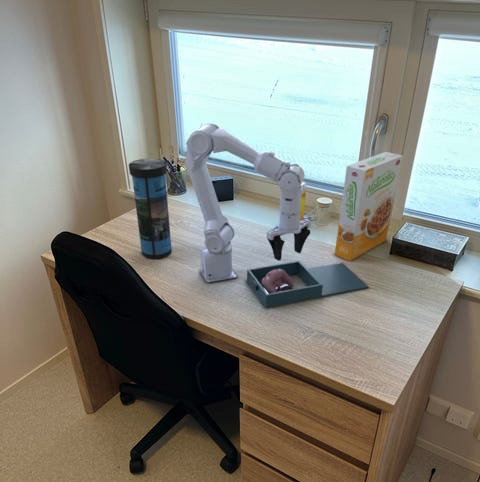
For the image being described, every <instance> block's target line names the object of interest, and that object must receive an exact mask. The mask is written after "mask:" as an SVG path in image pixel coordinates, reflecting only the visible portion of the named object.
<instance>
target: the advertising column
mask: <svg viewBox="0 0 480 482" xmlns="http://www.w3.org/2000/svg"><path fill="white" fill-rule="evenodd" d="M167 166H168V165H167V162H166V161H165V160H163V159H160V158H139V159H135V160H133V161H130V162H129V164H128V171H129V175H130V176H131V179H132V186H133V194H134V195H133V196H134V203H135V209H136V210H135V211H136V218H137V226H138V233H139V243H140V251H141V256H142V257H144V258H145V259H149V260H161V259H165V258H167V257H169V256H170V255H171V254H172V249H173V248H172V239H171V238H172V237H171V227H170V226H171V225H170V214H169V202H168V188H167V179H166V174H167V172H168V168H167Z"/></svg>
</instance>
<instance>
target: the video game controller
mask: <svg viewBox="0 0 480 482" xmlns="http://www.w3.org/2000/svg"><path fill="white" fill-rule="evenodd" d="M261 281H262V286H263V287H264V288H265V290H266V291H267V292H268V294H270V293H275V292H276V291H275V290H276V287H281V286H282V281H284V282H285V283H286V284H287V285H288V286H290V287H291V288H292V287H294V281H293V279H292V277H290V275H288V274H287V273H286V272H285V271H284V270H283V269H275V270H272V271H270V272H269V273H268V274H267V275H266V276H265V277H264V278H263V279H262V280H261ZM273 282H275V284H274V283H273Z"/></svg>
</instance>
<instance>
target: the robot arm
mask: <svg viewBox="0 0 480 482" xmlns="http://www.w3.org/2000/svg"><path fill="white" fill-rule="evenodd" d="M185 145H186V153H185V160H184V163H185V166H186V169H187V173H188V175H189V178H190V181H191V183H192V186H193V190H194V193H195V196H196V198H197V201H198V204H199V208H200V211H201V213H202V216H203V220H204V228H203V234H204V246H205V249H203V250H201V251H200V255H199V256H200V257H199V259H200V273H201V275H202V277H203V278H204V279H205V282H206V283H213V282H219V281H224V280H230V279H236V278H237V274H236V273H235V272H234V270H233V246H232V240H233V239H234V237H235V229H234V228H233V225H231V224H230V222H229V220H228V218H227V217H226V216H224V215H223V213H222V212H223V211H222V210H221V206H220V203H219V200H218V197H217V193H216V191H215V187H214V185H213V181H212V178H211V175H210V171H209V169H208V165H207V161H208V160H209V158H210V156H211V154H212V153H213V154H219V153H223V152H227V153H230V154H232V155H234V156H235V157H238V158H240V159H241V160H243V161H246V162H248V163H250V164H252V165H253V167H254V171H255V172H257V173H258V174H260V175H262V176H264V177H265V178H267V179H269V180H271V181H273V182H274V183H277V184H278V187H279V189H280V195H279V216H278V217H279V218H278V224H277V225H276V226H275V227H273V228H271V229H269V230H267V231H266V239H267V241H268V242H269V245H270V247H271V250H272V254H273V258H274V260H276V261H278V262H280V261H281V260H282V254H283V253H282V252H283V247H284V245H285V242H286V241H285V240H284V239H282V236H284V235H288V234H293V240H294V241H293V242H294V243H293V249H294V252H296V254H301V253H302V251H303V249H304V246H305V245H304V244H305V242H306V240H307V239H308V237H309V236H310V235H311V229H310V228H311V224H312V220H309V219H307V218H304V219H303V220H300V212H301V197H302V196H301V192H302V186H301V184H302V182H304V180H305V171H304V169H303V168H302V167H301V166H300V165H299V164H298V163H291V162H290V161H285V160H283V159H281V158H279V157H278V156H276V153H275V152H273V151H271V150H270V152H268V151H266V150H265V151H262V152H259V151H258V150H256V149H255V148H253V147H251V146H250V145H248V144H247V143H245V142H244V141H242V140H241V139H239V138H238V137H236V136H234V135H233V134H231V133H230V132H229V131H228V130H227V129H226V128H224V127H220V126H219V125H217V124H216V123H211V122H209V123H206V124H204V125H203V126H202V127H201V128H199V129H197V130H195V131H193V132H192V133H191V134H190V135H189V137H188V139H187V140H186V142H185Z"/></svg>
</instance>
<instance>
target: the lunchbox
mask: <svg viewBox="0 0 480 482" xmlns="http://www.w3.org/2000/svg"><path fill="white" fill-rule="evenodd" d="M275 269H283V270H284V271H285V272H286V273H287V274H288V276H291V275H296V274H297V275H298V276H299V277H300V278H301V279H302V281H304V282H305V283H306V285H307V286H303V287H297V288H292V289H291V290H286V291H281V292H275V293H270V294H267V292H266V291H265V290H264V288H263V287H262V286H261V284H260V283H259V281H262V279H263V278H264V277H265V276H266V275H267V274H268V273H269V272H270V271H272V270H275ZM246 282H247V284H249V286H250V288H251V289H252V291H253V292H254V294H255V295H256V296H257V298H258V299H259V300H260V302H261V303H262V305H263V306H264V307H265V309H268V308H274V307H278V306H284V305H289V304H293V303H294V304H295V303H298V302H304V301H309V300H313V299H314V300H315V299H318V298H324V297H330V296H335V295H341V294H344V293H350V292H354V291H360V290H364V289H368V288H369V285H367V283H365V282H364V281H363V280H362V279H361V278H360V277H358V276H357V274H355V273H354V272H353V271H351V269H350V268H348V267H347V266H346V264H344V263H342V262H340V263H335V264H331V265H324V266H318V267H312V268H307V267H306V266H305V265H304V264H303V262H302V261H301V260H294V261H289V262H282V263H277V264H272V265H266V266H259V267H253V268H247V269H246Z"/></svg>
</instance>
